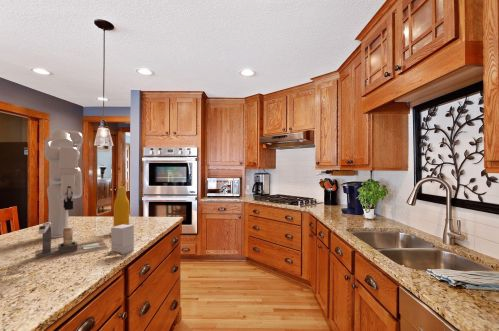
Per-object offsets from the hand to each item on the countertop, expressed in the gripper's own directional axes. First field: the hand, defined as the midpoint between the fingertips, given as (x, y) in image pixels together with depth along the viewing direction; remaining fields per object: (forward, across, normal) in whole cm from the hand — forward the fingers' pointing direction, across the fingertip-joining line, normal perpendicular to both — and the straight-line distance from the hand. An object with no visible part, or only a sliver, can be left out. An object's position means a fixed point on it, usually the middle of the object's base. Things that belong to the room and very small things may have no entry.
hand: (68, 208), depth 120 cm
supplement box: (+22, +15, +21) cm, 34 cm away
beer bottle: (+22, -28, +30) cm, 47 cm away
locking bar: (+8, +6, -9) cm, 13 cm away
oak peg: (+21, 0, 0) cm, 21 cm away
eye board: (+22, 0, +2) cm, 22 cm away
